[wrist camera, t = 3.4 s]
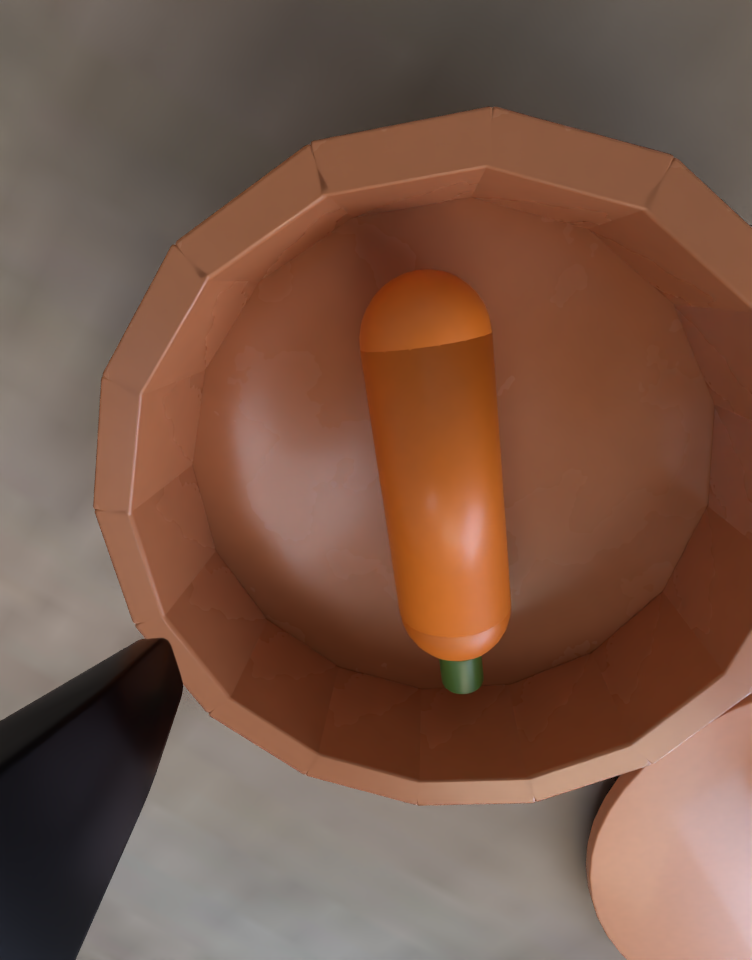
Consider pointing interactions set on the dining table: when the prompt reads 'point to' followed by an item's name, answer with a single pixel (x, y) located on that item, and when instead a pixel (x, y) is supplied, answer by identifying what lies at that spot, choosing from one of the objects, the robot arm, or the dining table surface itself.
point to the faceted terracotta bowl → (523, 442)
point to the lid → (680, 849)
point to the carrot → (440, 466)
